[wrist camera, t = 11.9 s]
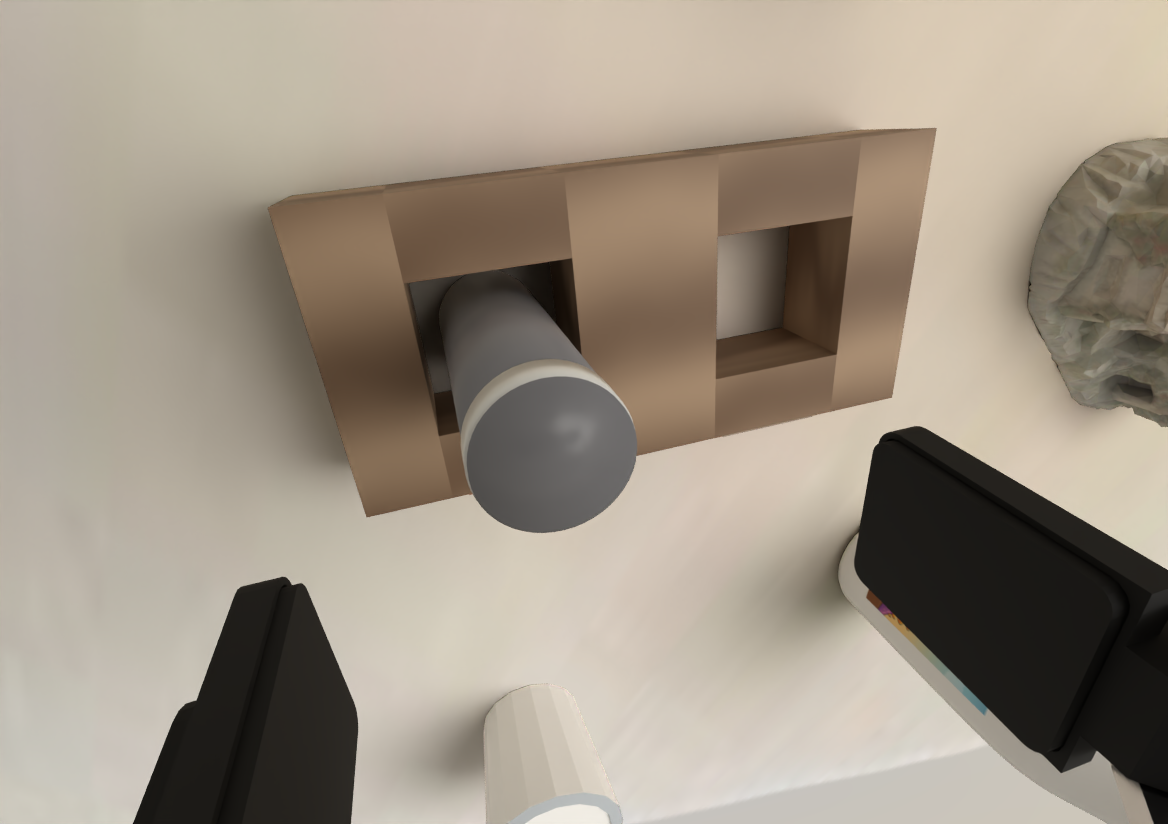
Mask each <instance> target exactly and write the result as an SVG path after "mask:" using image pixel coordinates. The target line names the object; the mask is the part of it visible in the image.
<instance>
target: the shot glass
mask: <svg viewBox="0 0 1168 824" xmlns="http://www.w3.org/2000/svg"><path fill="white" fill-rule="evenodd" d="M483 733H484V766H485V799H486V824H622V823H623V817H622V814H621V810H620V806H619V804H618V801H617V799H616V797H615V794H614V792H613V789H612V787H611V785H610V782H609V780H608V778H607V775H606V773H605V770H604V768H603V766H602V763H601V761H600V759H599V756H598V754H597V751H596V749H595V747H594V744H593V742H592V739H591V737H590V735H589V732H588V730H587V728H586V725H585V723H584V720H583V718H582V716H581V713H580V711H579V709H578V706H577V704H576V701H575V699H574V697H573V695H572V694H570V693H569V692H568V691H567V690H566V689H565V688H563V687H560V686H556V685H552V684H548V683H547V684H535V685H528V686H525V687H523V688H520V689H517V690H515V691H512V692H510V693H509V694H507V695H506V696H505V697H503V698H502V699H500V700H499V701H498V702H496V703H495V704H494V706H493V707H492V709H491V710H490V711H489V713H488V714H487V716H486V719H485V724H484V729H483Z"/></svg>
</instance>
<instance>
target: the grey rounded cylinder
mask: <svg viewBox="0 0 1168 824" xmlns="http://www.w3.org/2000/svg"><path fill="white" fill-rule="evenodd" d="M439 324H440V330H441V336H442V341H443V346H444V352H445V357H446V362H447V367H448V373H449V378H450V383H451V389H452V394H453V399H454V404H455V410H456V415H457V420H458V426H459V431H460V436H461V452H462V458H463V464H464V469H465V475H466V479H467V482H468V485H469V487H470V490H471V492H472V494H473V495H474V497H475V498H476V500H477V501H478V503H479V504H480V505H481V507H482V508H483V509H484V510H485V511H486V512H487V513H488V514H489V515H491V516H492V517H493V518H494V519H496V520H497V521H499V522H501V523H502V524H504V525H507V526H509V527H511V528H514V529H518V530H521V531H526V532H533V533H547V532H556V531H562V530H566V529H569V528H573V527H575V526H578V525H580V524H583V523H585V522H587V521H588V520H590V519H592V518H594V517H595V516H597V515H598V514H600V513H601V512H603V511H604V510H605V509H606V508H607V507H608V506H610V505H611V504H612V503H613V501H614V500H615V499H616V498H617V497H618V496H619V495H620V493H621V492H622V491H623V489H624V488H625V486H626V484H627V482H628V481H629V479H630V476H631V474H632V472H633V469H634V465H635V462H636V455H637V437H636V431H635V427H634V424H633V420H632V418H631V415H630V413H629V411H628V409H627V408H626V406H625V405H624V403H623V402H622V401H621V399H620V398H619V397H618V396H617V395H616V393H615V392H614V391H613V390H612V389H611V387H610V386H609V385H608V384H607V383H606V382H605V381H604V379H603V378H601V377H600V376H599V375H598V374H597V373H596V372H595V371H594V370H593V369H592V367H591V366H590V365H589V364H588V362H587V361H586V360H585V359H584V358H583V356H582V355H581V354H580V353H579V351H578V350H577V349H576V348H575V347H574V345H573V344H572V343H571V342H570V341H569V339H568V338H567V337H566V336H565V334H564V333H563V332H562V331H561V330H560V328H559V327H558V326H557V325H556V323H555V322H554V321H553V320H552V319H551V317H550V316H549V315H548V314H547V312H546V311H545V310H544V309H543V308H542V306H541V305H540V304H539V303H538V301H537V300H536V299H535V298H534V297H533V295H532V294H531V293H530V292H529V291H528V289H527V288H526V287H525V286H524V285H523V284H522V283H521V282H520V281H519V280H517V279H516V278H514V277H513V276H511V275H509V274H507V273H503V272H500V271H495V270H490V271H484V272H477V273H470V274H468V275H466V276H464V277H462V278H461V279H459V280H458V281H456V282H455V283H454V284H453V285H452V286H451V287H450V289H449V290H448V291H447V293H446V294H445V296H444V298H443V300H442V303H441V306H440V312H439Z"/></svg>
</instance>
